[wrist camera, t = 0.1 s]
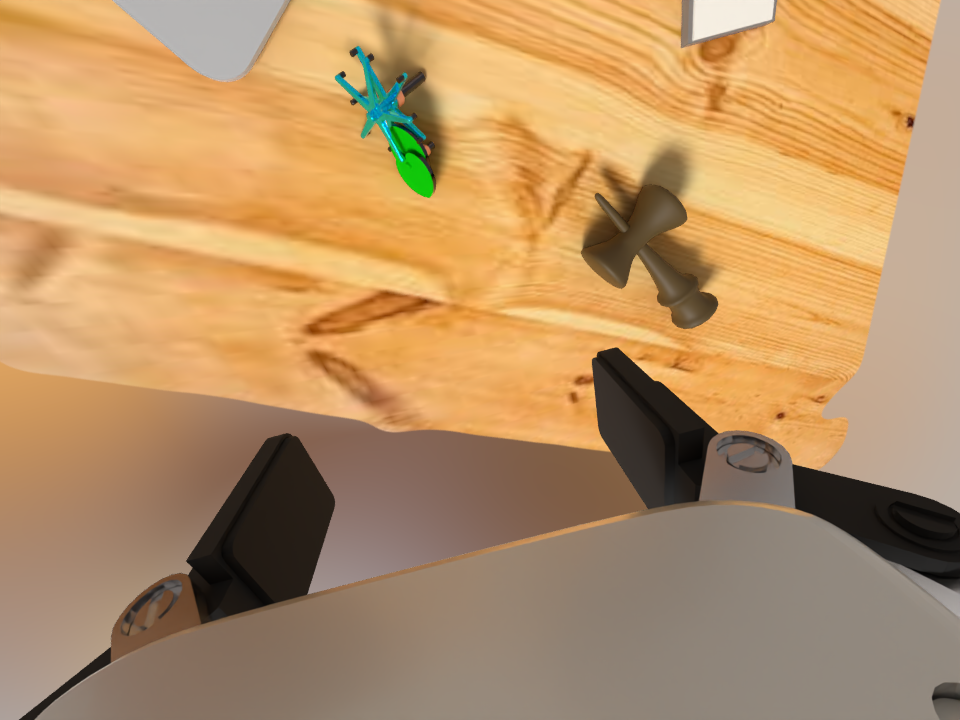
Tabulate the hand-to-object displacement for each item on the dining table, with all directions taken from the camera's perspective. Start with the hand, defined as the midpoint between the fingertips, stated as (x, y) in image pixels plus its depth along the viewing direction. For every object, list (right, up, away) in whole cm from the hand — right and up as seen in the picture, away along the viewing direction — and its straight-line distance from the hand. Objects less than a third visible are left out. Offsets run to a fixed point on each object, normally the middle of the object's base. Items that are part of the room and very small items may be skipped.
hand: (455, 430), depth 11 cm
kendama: (+19, +14, +31) cm, 39 cm away
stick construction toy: (-6, +24, +23) cm, 34 cm away
